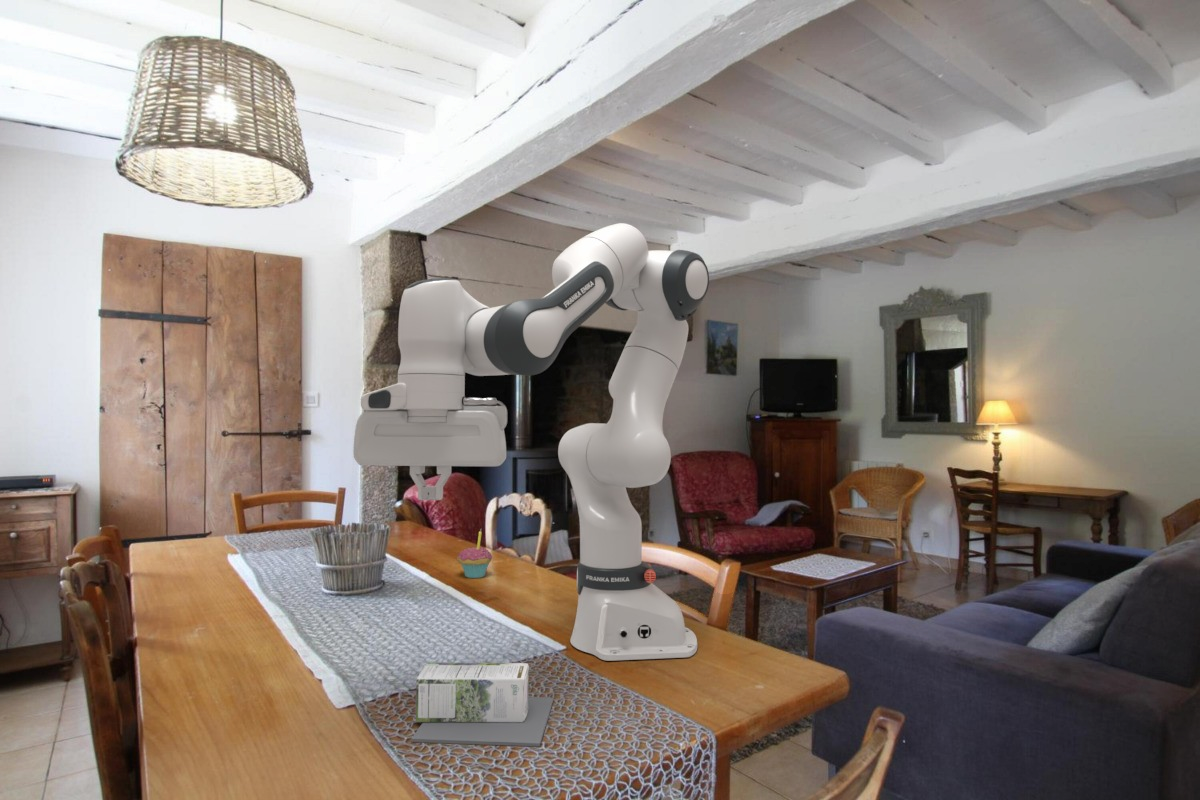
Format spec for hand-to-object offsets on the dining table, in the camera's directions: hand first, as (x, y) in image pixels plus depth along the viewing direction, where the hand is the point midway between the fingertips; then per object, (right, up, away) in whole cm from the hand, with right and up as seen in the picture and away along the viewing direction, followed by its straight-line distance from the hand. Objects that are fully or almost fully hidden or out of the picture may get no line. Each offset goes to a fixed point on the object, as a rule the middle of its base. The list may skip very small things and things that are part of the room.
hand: (430, 499), depth 89 cm
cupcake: (-8, -31, +76) cm, 82 cm away
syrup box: (-1, -26, 0) cm, 26 cm away
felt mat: (+8, -29, -1) cm, 30 cm away
